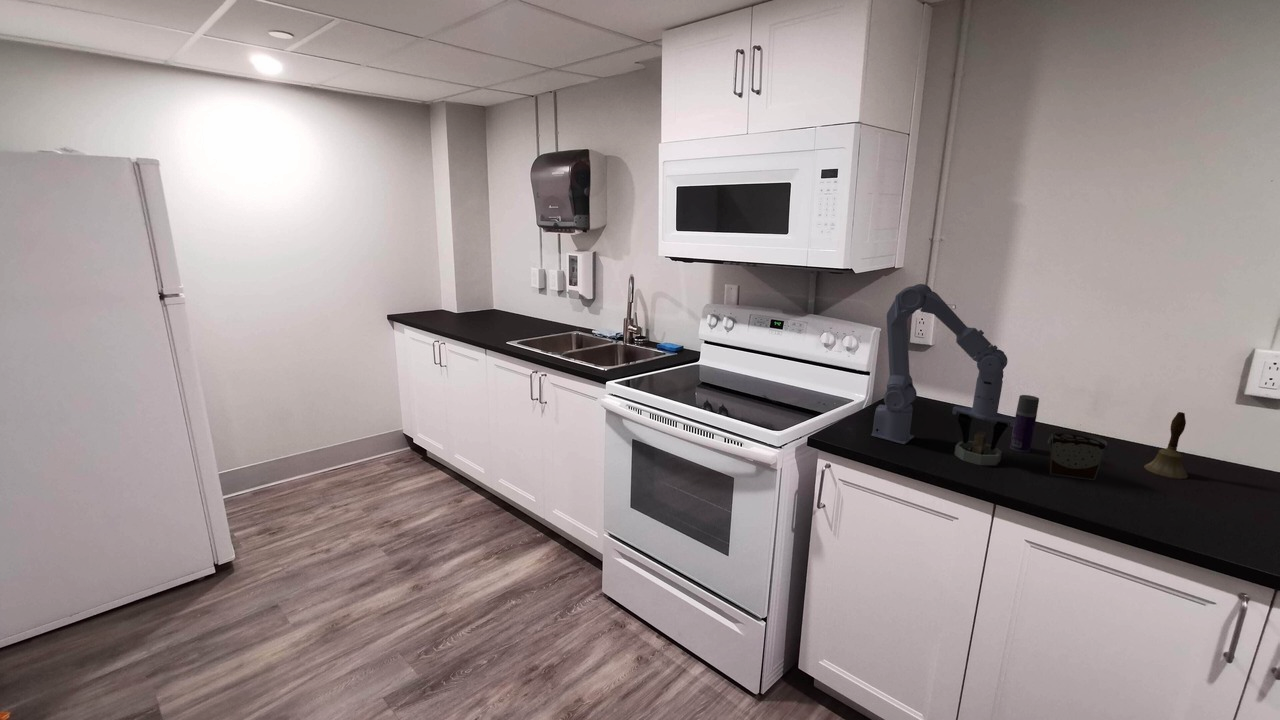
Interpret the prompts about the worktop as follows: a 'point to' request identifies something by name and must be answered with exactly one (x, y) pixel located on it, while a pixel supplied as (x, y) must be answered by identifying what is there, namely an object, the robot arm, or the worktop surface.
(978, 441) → the brown wooden block
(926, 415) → the worktop surface
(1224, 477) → the worktop surface
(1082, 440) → the food container
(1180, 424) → the hand bell
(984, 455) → the grey shallow bowl
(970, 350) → the robot arm
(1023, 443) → the container
